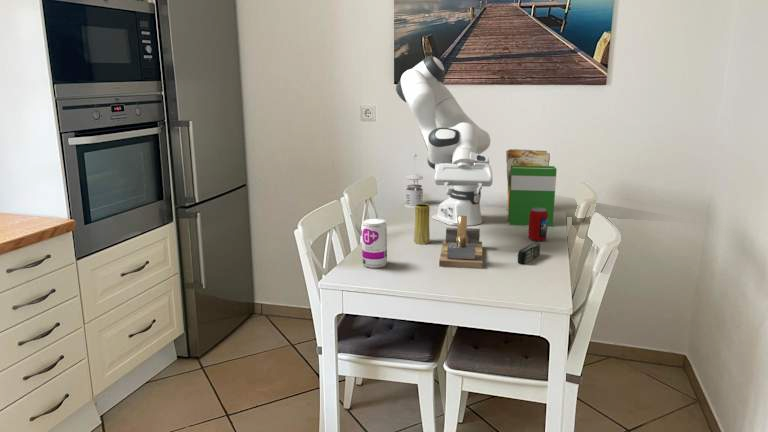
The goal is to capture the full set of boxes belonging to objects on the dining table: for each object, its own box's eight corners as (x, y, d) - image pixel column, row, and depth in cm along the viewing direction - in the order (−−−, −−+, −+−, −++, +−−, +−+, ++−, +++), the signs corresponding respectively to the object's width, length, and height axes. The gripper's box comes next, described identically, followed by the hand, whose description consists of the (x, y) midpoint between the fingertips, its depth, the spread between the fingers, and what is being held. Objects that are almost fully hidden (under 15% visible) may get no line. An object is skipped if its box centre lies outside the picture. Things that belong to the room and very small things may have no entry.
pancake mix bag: (504, 207, 271) (507, 148, 264) (546, 210, 265) (550, 150, 258) (502, 211, 265) (505, 150, 258) (545, 214, 259) (549, 152, 252)
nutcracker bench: (443, 245, 213) (443, 226, 212) (481, 246, 211) (482, 228, 209) (439, 266, 190) (439, 246, 189) (482, 268, 188) (482, 248, 186)
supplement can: (378, 270, 187) (378, 225, 183) (357, 265, 191) (356, 222, 188) (391, 263, 194) (391, 220, 190) (370, 259, 198) (370, 216, 194)
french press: (402, 207, 272) (402, 155, 265) (405, 202, 283) (406, 151, 277) (423, 208, 270) (424, 155, 264) (425, 203, 281) (426, 152, 275)
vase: (432, 240, 219) (432, 204, 215) (426, 245, 213) (427, 207, 210) (417, 239, 221) (417, 202, 218) (411, 243, 216) (411, 206, 212)
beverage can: (546, 242, 216) (548, 211, 213) (528, 241, 217) (530, 210, 214) (545, 237, 222) (547, 207, 219) (527, 236, 224) (529, 206, 221)
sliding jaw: (448, 252, 197) (449, 213, 194) (474, 253, 196) (476, 214, 192) (447, 258, 191) (448, 218, 188) (474, 259, 190) (476, 219, 186)
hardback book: (509, 225, 241) (511, 168, 235) (508, 220, 248) (510, 165, 242) (552, 226, 238) (556, 169, 232) (550, 222, 245) (554, 166, 239)
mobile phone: (524, 252, 190) (543, 240, 201) (516, 250, 192) (535, 239, 203) (524, 266, 191) (543, 254, 203) (515, 264, 193) (535, 252, 204)
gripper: (434, 156, 206) (432, 188, 199) (493, 157, 202) (492, 190, 195) (435, 166, 211) (433, 198, 204) (492, 168, 208) (491, 200, 201)
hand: (462, 194), depth 200 cm, fingers open, 8 cm apart
